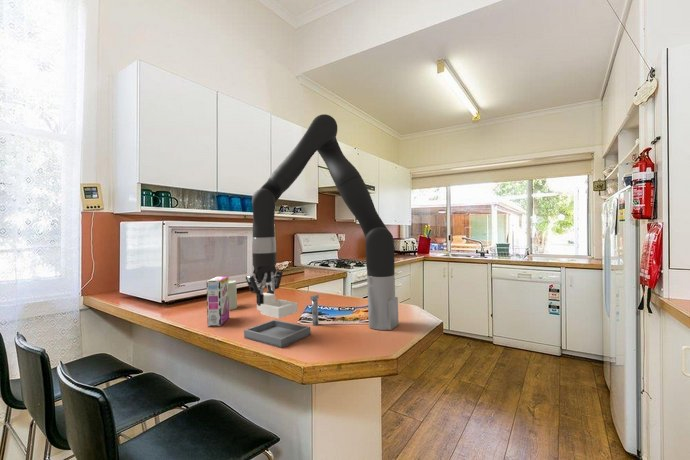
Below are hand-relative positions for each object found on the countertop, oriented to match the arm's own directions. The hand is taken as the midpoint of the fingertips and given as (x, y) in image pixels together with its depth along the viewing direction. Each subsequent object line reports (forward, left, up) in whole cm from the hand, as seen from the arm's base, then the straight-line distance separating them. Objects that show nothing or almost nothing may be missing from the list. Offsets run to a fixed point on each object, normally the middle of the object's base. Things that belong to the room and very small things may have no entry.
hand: (265, 303), depth 102 cm
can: (+42, -14, -10) cm, 45 cm away
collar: (-4, 0, -2) cm, 4 cm away
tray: (-5, 0, -10) cm, 11 cm away
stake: (-8, -15, -10) cm, 20 cm away
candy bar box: (+26, 0, -10) cm, 28 cm away
